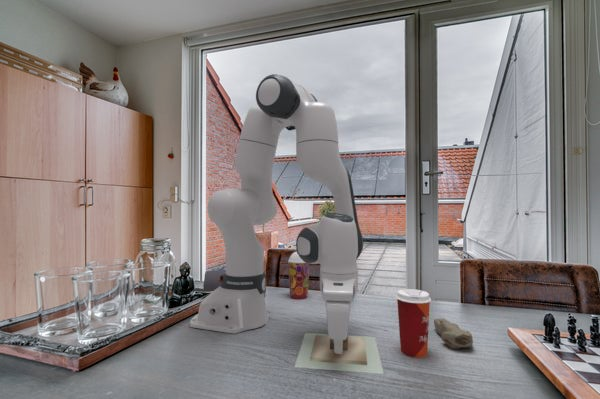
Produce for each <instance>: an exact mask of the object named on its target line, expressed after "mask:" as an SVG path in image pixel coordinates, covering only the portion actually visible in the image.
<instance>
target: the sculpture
mask: <svg viewBox="0 0 600 399" xmlns="http://www.w3.org/2000/svg"><path fill="white" fill-rule="evenodd" d="M433 324H434V329H435V331H436V333H437V334H439V335H440V338H441V341H443V342H444V343H445V344H446V345H448V347H450V348H451V349H454V350H459V349H461V348H468V349H471V348H473V343H474V340H473V339H474V338H473V334H472V333H471V331H469V330H465V329H461V328H460V326H459V325H458V324H457V323H455V322H450V321H449V320H448V319H446V318H444V317H441V318H440V317H439V318H434V320H433Z"/></svg>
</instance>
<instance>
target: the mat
mask: <svg viewBox="0 0 600 399" xmlns="http://www.w3.org/2000/svg"><path fill="white" fill-rule="evenodd" d="M315 335H322V336H329V334H327V333H313V332H312V333H311V332H309V333H308V332H305V333H304V336H303V339H302V341H301V346H300V347H299V352H298V354H297V356H296V360H295V363H294V368H296V369H297V368H300V369H312V370H326V371H340V372H352V373H366V374H378V375H384V371H383V370H384V369H383V365H382V362H381V357H380V352H379V347H378V343H377V339H376V337H375V336H361V335H348V337H355V338H364V343H365V350H366V357H367V365H357V364H343V363H329V362H316V361H310V356H311V352H312V348H313V344H314V340H315Z"/></svg>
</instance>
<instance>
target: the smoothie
mask: <svg viewBox="0 0 600 399" xmlns="http://www.w3.org/2000/svg"><path fill="white" fill-rule="evenodd" d="M287 265H288V266H287V268H288V282H289V283H288V284H289V294H290V296H291V298H292V299H295V300H300V299H301V300H302V299H306V298H307V295H308V293H309V279H310V278H309V277H310V265H311V264H310V263H306V262H304V261H303V260H302V259H301V258H300V257H299V255H298V254H297V250H296V251H294V252H292V254H291V255H290V256H289V259H288V260H287Z"/></svg>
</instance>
